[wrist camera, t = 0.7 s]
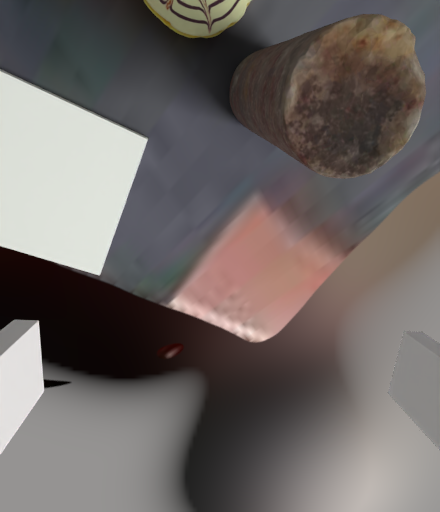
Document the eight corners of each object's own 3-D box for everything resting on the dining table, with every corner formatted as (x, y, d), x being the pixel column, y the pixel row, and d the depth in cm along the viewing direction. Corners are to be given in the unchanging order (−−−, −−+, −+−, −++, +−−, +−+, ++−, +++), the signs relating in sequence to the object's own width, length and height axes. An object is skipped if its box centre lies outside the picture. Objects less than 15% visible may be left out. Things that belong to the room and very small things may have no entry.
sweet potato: (235, 140, 33) (300, 197, 16) (216, 65, 30) (274, 33, 12) (300, 118, 33) (439, 152, 16) (290, 40, 29) (456, -28, 12)
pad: (-50, 45, 26) (-58, 44, 25) (148, 137, 32) (147, 139, 31) (-64, 221, 33) (-70, 224, 32) (101, 271, 39) (99, 275, 38)
